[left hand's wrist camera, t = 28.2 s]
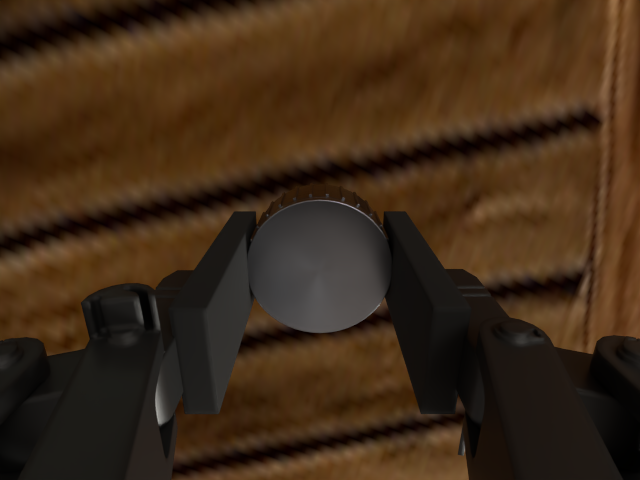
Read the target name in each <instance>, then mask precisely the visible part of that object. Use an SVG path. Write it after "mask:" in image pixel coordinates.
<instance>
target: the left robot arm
mask: <svg viewBox="0 0 640 480" xmlns="http://www.w3.org/2000/svg"><path fill="white" fill-rule="evenodd" d="M256 226H257V224H256V212H234V213H233V214H232V216H231V217H230V219H229V220H228V222H227V223H226V224H225V226H224V227H223V229H222V230H221V232H220V233H219V235H218V236H217V238H216V239H215V241H214V242H213V243H212V245H211V246H210V248H209V249H208V251H207V252H206V254H205V255H204V257H203V258H202V260H201V261H200V262H199V264H198V265H197V267H196V268H195V270H177V271H175V272H174V273H172V274H170V275H169V276H167V277H165V278H164V279H163V280H162V281H161V282H160V283H159V285H158V286H157V287H156V290H154V289H153V288H151V287H150V286H148V285H144V284H139V283H128V284H120V285H115V286H110V287H107V288H104V289H101V290H99V291H97V292H95V293H93V294H91V295H89V296H88V297H87V298H85V299H84V300H83V301H82V302H81V305H82V309H83V313H84V317H85V321H86V325H87V329H88V333H89V337H90V340H89V342H88V344H87V346H86V348H85V349H82V350H78V351H72V352H67V353H62V354H56V355H51V356H47V354H46V351H45V347H44V344H43V343H42V342H41V341H40V340H38V339H35V338H28V337H24V338H11V339H6V340H4V341H3V340H2V341H0V480H171V476H172V468H173V460H174V452H175V444H176V436H177V429H178V428H177V422H176V416H175V409H176V407H177V405H178V402H179V400H180V398H181V396H182V398H183V405H184V411H185V414H219V411H220V408H221V405H222V402H223V398H224V395H225V392H226V389H227V385H228V382H229V379H230V376H231V373H232V369H233V366H234V363H235V360H236V356H237V353H238V350H239V347H240V343H241V340H242V337H243V334H244V330H245V327H246V324H247V321H248V317H249V314H250V311H251V308H252V304H253V301H254V298H255V297H254V295H253V293H252V291H251V288H250V285H249V279H248V265H247V254H248V250H249V246H250V244H251V242H250V239H251V237H252V235H253V232H254V230H255V228H256ZM383 227H384V229H385V231H386V234H387V236H388V238H389V241H388V243H389V246H390V249H391V253H392V258H393V261H392V276H391V283H390V287H389V289H388V291H387V294H386V295H385V299H386V302H387V305H388V309H389V312H390V315H391V318H392V321H393V325H394V328H395V331H396V334H397V338H398V341H399V344H400V347H401V351H402V354H403V357H404V360H405V364H406V367H407V370H408V373H409V377H410V380H411V383H412V386H413V390H414V393H415V396H416V399H417V403H418V406H419V409H420V412H421V414H455V409H456V403H457V397H458V394H459V396H460V399H461V401H462V403H463V405H464V408H465V416H464V421H463V427H462V433H461V439H460V445H459V451H458V455H464V450H465V451H466V459H467V467H468V475H469V480H640V339H636V338H634V337H629V336H626V337H625V336H615V335H613V336H606V337H602V338H601V339H599V340H598V341H597V343H596V346H595V349H594V353H593V354H588V353H583V352H577V351H572V350H566V349H561V348H557V347H554V346H553V344H552V342H551V340H550V338H549V337H548V336H547V335H546V334H545V332H544V331H542V330H541V329H539V328H538V327H536V326H534V325H533V324H530V323H528V322H525V321H522V320H519V319H514V318H510V317H509V316H508V315H507V314H506V312H505V311H504V310H503V309H502V308H501V306H500V305H499V304H498V303H497V302H496V300H495V299H494V298H493V297H491V294H490V293H489V292H488V291H487V289H484V286H483V284H482V283H481V282H480V281H479V280H478V278H477V277H475V276H474V275H472V274H470V273H468V272H467V271H465V270H463V269H444V267H443V266H442V264H441V263H440V261H439V260H438V258H437V257H436V256H435V254H434V253H433V251H432V250H431V248H430V247H429V245H428V244H427V242H426V241H425V239H424V238H423V237H422V235H421V234H420V232H419V231H418V229H417V228H416V226H415V225H414V223H413V222H412V220H411V219H410V218H409V216H408V215H407V213H406V212H384V220H383Z"/></svg>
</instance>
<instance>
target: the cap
mask: <svg viewBox="0 0 640 480" xmlns="http://www.w3.org/2000/svg"><path fill="white" fill-rule="evenodd" d="M388 241H389V238H388V236H387V234H386V231H385V229H384V227H383V225H382V223H381V222H380V220H379V217H378V215H377V213H376V211H374V212H373V210H372V209H371V207H370V206H369V204H368V202H367V201H366V200H365V201H364V200H362V199H361V198H360V197H359V196H357V195H356V193H355V192H353V193H352V192H350V191H348V190H346V189H344V188H343V187H342V186H340V187H337V186H332V185H328V183H325V185H324V184H315V185H313V183H310V185H307V186H303V187H299V188H298V186H297V187H296V188H295V189H294V190H291V191H289V192H287V193H285V192H284V193H282V196H281V197H280V198H278V199H277V200H276V201H275V202H273V201H272V202H271V204H270V206H269V208H268V209H267V211H266V212H263V214H262V216H261V218H260V220H259V222H258V224H257V226H256V228H255V230H254V232H253V235H252V237H251V239H250V242H251V244H250V246H249V250H248V254H247V265H248V279H249V285H250V288H251V291H252V293H253V295H254V297H255V298H256V300H257V301H258V303H259V304H260V305H261V307H262V308H263V309H264V310H265V311H266V312H267V313H268V314H269V315H271V316H272V317H273V318H274V319H276V320H277V321H279V322H281V323H283V324H284V325H286V326H289V327H291V328H294V329H297V330H301V331H306V332H313V333H325V332H334V331H339V330H342V329H345V328H348V327H351V326H353V325H355V324H357V323H359V322H360V321H362V320H364V319H365V318H366V317H368V316H369V315H370V314H371V313H372V312H373V311H374V310H375V309H376V308H377V307H378V306H379V305H380V303H381V302H382V300H383V299H384V297H385V295H386V294H387V291H388V289H389V287H390V283H391V276H392V261H393V258H392V253H391V249H390V246H389V243H388Z"/></svg>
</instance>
